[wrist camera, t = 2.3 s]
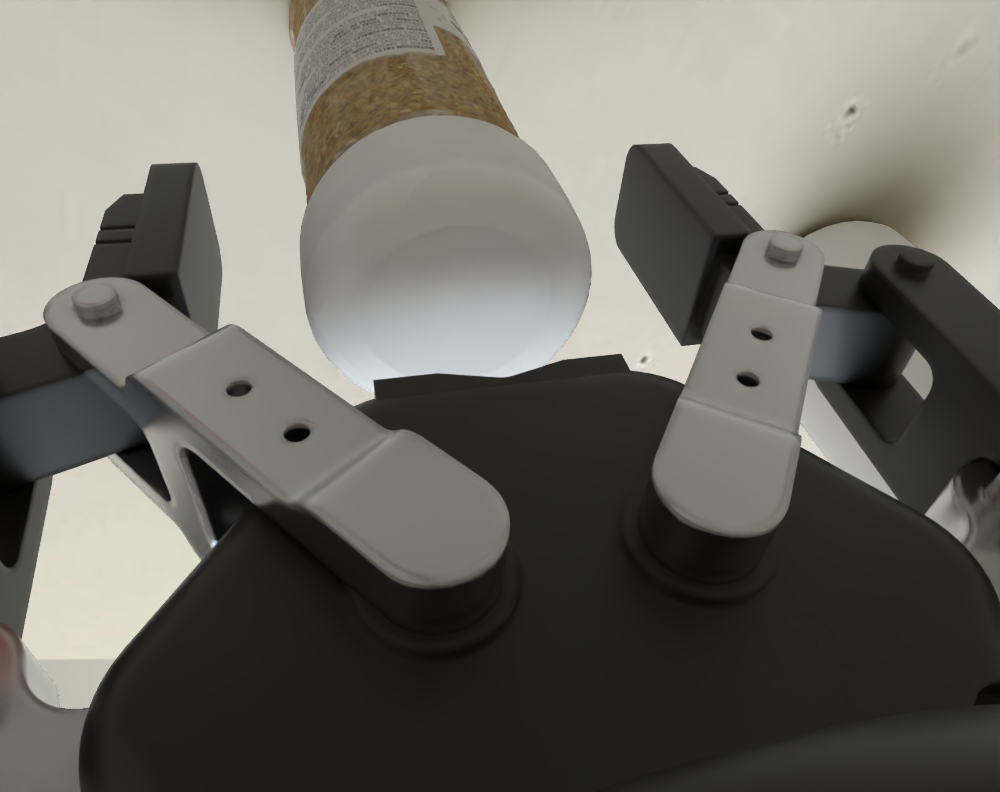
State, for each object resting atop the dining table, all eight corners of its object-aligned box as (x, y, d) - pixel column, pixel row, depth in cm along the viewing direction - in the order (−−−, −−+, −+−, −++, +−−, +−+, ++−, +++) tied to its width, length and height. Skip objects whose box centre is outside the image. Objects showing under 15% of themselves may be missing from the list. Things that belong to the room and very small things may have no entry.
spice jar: (461, 87, 22) (607, 375, 13) (317, 124, 22) (358, 446, 13) (427, -86, 19) (589, 132, 10) (258, -44, 19) (252, 223, 9)
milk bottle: (721, 372, 34) (1035, 840, 20) (753, 231, 29) (1212, 740, 15) (869, 341, 35) (1267, 768, 21) (927, 199, 30) (1514, 649, 16)
